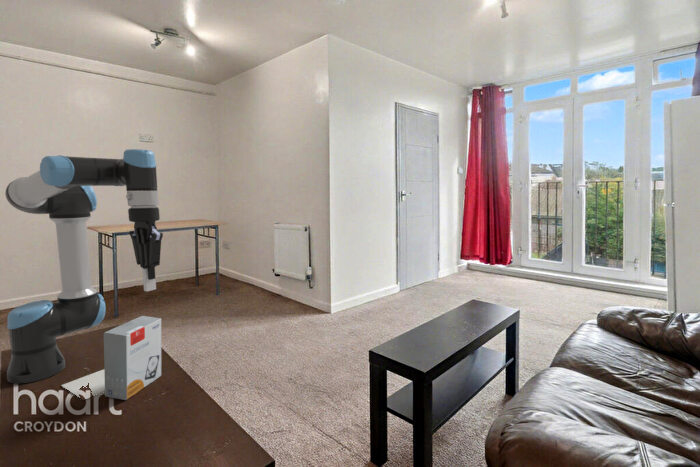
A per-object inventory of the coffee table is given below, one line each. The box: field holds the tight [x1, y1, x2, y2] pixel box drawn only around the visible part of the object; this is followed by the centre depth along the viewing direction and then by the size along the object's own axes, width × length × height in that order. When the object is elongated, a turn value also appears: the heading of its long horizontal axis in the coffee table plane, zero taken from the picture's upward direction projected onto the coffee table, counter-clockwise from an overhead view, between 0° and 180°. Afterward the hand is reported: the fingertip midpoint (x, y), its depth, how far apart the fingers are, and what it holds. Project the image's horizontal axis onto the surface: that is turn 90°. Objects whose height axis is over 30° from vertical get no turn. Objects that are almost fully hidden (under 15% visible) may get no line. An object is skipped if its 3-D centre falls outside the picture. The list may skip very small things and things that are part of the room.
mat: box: [61, 368, 105, 399], centre depth 120 cm, size 15×15×1 cm
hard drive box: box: [103, 315, 162, 401], centre depth 117 cm, size 16×8×20 cm, turn 169°
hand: (150, 289), depth 107 cm, fingers closed
